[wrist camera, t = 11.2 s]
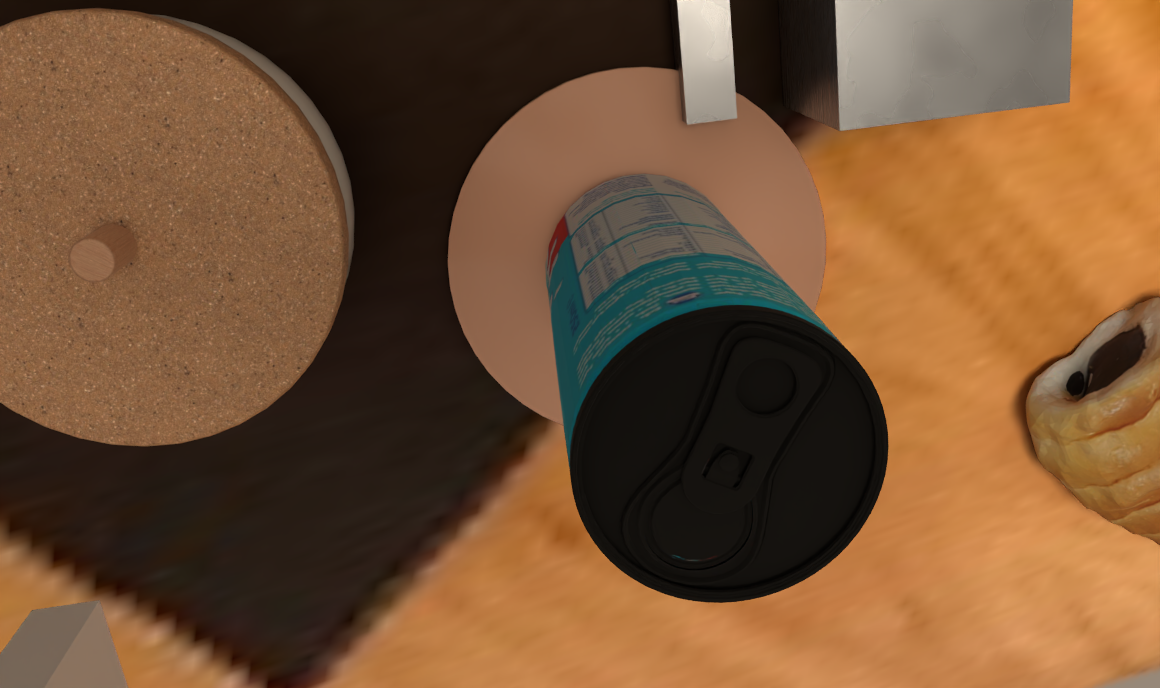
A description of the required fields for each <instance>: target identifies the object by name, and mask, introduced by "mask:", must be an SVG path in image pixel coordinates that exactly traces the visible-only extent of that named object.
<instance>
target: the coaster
mask: <svg viewBox="0 0 1160 688" xmlns="http://www.w3.org/2000/svg"><path fill="white" fill-rule="evenodd" d="M736 107H737V119H729V120H721V121H713V122H705V123H697V124H688V125H687V124H686V123H684V122H683V121H682V109H681V97H680V85H679V73H678V71H677V70H675V69H670V68H660V67H648V66H637V67H619V68H613V69H607V70H602V71H597V72H592V73H589V74H586V75H583V76H580V77H577V78H574V79H571V80H568V81H566V82H564V83H562V84H560V85H558V86H556V87H554V88H552V89H550V90H548V91H546V92H544V93H542V94H541V95H539V96H538V97H536V98H535V99H533V100H532V101H530V102H529V103H527V104H526V105H524V106H523V107H522V108H521V109H519V110H518V111H517V112H516V113H515V114H514V115H513V116H511V117H510V118H509V119H508V120H507V121H506V122H505V123H504V124H503V125H502V126H501V127H500V128H499V129H498V130H497V132H496V133H495V134H494V135H493V136H492V137H491V138H490V140H489V141H488V142H487V143H486V145H485V146H484V148H483V149H482V151H481V152H480V154H479V155H478V157H477V158H476V160H475V161H474V163H473V165H472V167H471V169H470V171H469V173H468V175H467V177H466V179H465V181H464V183H463V185H462V188H461V191H460V194H459V197H458V200H457V203H456V206H455V210H454V213H453V219H452V224H451V230H450V235H449V248H448V271H449V282H450V289H451V294H452V298H453V302H454V307H455V311H456V313H457V316H458V319H459V321H460V324H461V327H462V329H463V332H464V334H465V336H466V338H467V340H468V342H469V343H470V345H471V347H472V349H473V351H474V353H475V354H476V356H477V357H478V358H479V360H480V361H481V362H482V364H483V365H484V367H485V368H486V369H487V371H488V372H489V373H490V374H491V375H492V376H493V377H494V379H495V380H496V381H497V382H498V383H499V384H500V385H501V386H502V387H503V388H504V389H505V390H506V391H507V392H509V393H510V394H511V395H512V396H514V397H515V398H516V399H517V400H519V401H520V402H521V403H522V404H524V405H525V406H527V407H529V408H530V409H532V410H533V411H535V412H537V413H538V414H540V415H542V416H543V417H546V418H548V419H550V420H552V421H554V422H557V423H559V424H561V425H563V417H562V409H561V401H560V393H559V385H558V377H557V368H556V360H555V351H554V342H553V333H552V324H551V315H550V306H549V297H548V290H547V286H546V269H545V265H546V259H547V253H548V247H549V243H550V241H551V238H552V236H553V234H554V231H555V229H556V226H557V224H558V223H559V221H560V220H561V219H562V217H563V216H564V214H565V213H566V211H567V210H568V209H569V207H570V206H571V205H572V204H574V203H575V202H576V201H577V200H578V199H579V198H580V197H581V196H582V195H583V194H585V193H586V192H588V191H589V190H591V189H593V188H594V187H596V186H598V185H600V184H601V183H603V182H606V181H609V180H612V179H615V178H618V177H621V176H626V175H635V174H653V175H662V176H667V177H670V178H673V179H676V180H679V181H682V182H684V183H687V184H688V185H690V186H691V187H693V188H695V189H696V190H698V191H699V192H701V193H702V194H704V195H705V196H706V197H707V198H708V199H709V200H710V201H711V202H712V203H713V204H714V205H715V206H716V207H717V208H718V209H719V211H720V212H721V213H722V214H723V216H724V217H725V218H726V219H727V220H728V221H729V222H730V223H731V224H732V225H733V226H734V227H735V228H736V229H737V230H738V232H739V233H740V234H741V235H742V236H743V237H744V238H745V239H746V240H747V241H748V242H749V243H750V244H751V245H752V246H753V247H754V249H755V250H756V251H757V252H758V253H759V254H760V255H761V256H762V257H763V258H764V259H765V260H766V261H767V262H768V263H769V264H770V266H771V267H772V268H773V269H774V270H775V271H776V272H777V273H778V274H779V275H780V276H781V277H782V278H783V279H784V280H785V282H786V283H787V284H788V285H789V286H790V287H791V288H792V289H793V290H794V291H795V293H796V294H797V295H798V296H799V297H800V298H801V299H802V300H803V301H804V302H805V303H806V305H807V306H808V307H809V308H810V309H811V310H812V311H813V312H814V311H815V308H816V305H817V302H818V298H819V295H820V291H821V288H822V282H823V276H824V270H825V263H826V234H825V224H824V215H823V211H822V207H821V203H820V199H819V195H818V191H817V189H816V186H815V184H814V181H813V179H812V176H811V174H810V171H809V169H808V167H807V166H806V164H805V162H804V160H803V159H802V157H801V155H800V153H799V151H798V150H797V148H796V147H795V145H794V144H793V143H792V142H791V140H790V139H789V138H788V136H787V135H786V134H785V132H784V131H783V130H782V129H781V128H780V127H779V126H778V125H777V124H776V123H775V122H774V121H773V120H772V119H771V118H770V117H769V116H768V115H767V114H766V113H765V112H764V111H763V110H761V109H760V108H759V107H757V106H756V105H755V104H753V103H752V102H750V101H749V100H748V99H746V98H745V97H744V96H742V95H740V94H738V93H736ZM563 426H564V425H563Z"/></svg>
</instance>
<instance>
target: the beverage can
mask: <svg viewBox="0 0 1160 688" xmlns="http://www.w3.org/2000/svg"><path fill="white" fill-rule="evenodd" d="M545 269H546V286H547V290H548V297H549V306H550V315H551V324H552V333H553V342H554V351H555V360H556V368H557V377H558V385H559V393H560V401H561V409H562V417H563V425H564V433H565V439H566V446H567V453H568V460H569V467H570V476H571V483H572V490H573V495H574V499H575V503H576V506H577V509H578V512H579V515H580V517H581V520H582V522H583V524H584V526H585V528H586V530H587V531H588V533H589V535H590V536H591V538H592V540H593V541H594V542H595V544H596V545H597V546H598V548H599V549H600V550H601V552H602V553H603V554H604V555H605V556H606V557H607V558H608V559H609V560H610V561H611V562H612V563H613V564H614V565H615V566H617V567H618V568H619V569H620V570H621V571H623V572H624V573H625V574H627V575H628V576H630V577H631V578H633V579H634V580H636V581H638V582H640V583H641V584H643V585H645V586H647V587H649V588H651V589H654V590H656V591H659V592H661V593H664V594H667V595H670V596H674V597H677V598H681V599H687V600H692V601H700V602H718V603H723V602H737V601H744V600H750V599H755V598H759V597H763V596H767V595H770V594H773V593H776V592H779V591H781V590H784V589H786V588H789V587H791V586H793V585H795V584H797V583H799V582H801V581H803V580H805V579H806V578H808V577H810V576H811V575H813V574H815V573H816V572H818V571H819V570H820V569H822V568H823V567H825V566H826V565H827V564H828V563H830V562H831V561H832V560H833V559H834V558H836V557H837V556H838V555H839V554H840V553H841V552H842V551H843V550H844V549H845V548H846V547H847V546H848V545H849V543H850V542H851V541H852V540H853V539H854V537H855V536H856V535H857V534H858V532H859V531H860V530H861V528H862V526H863V525H864V523H865V522H866V520H867V518H868V517H869V515H870V514H871V511H872V509H873V507H874V505H875V503H876V501H877V499H878V496H879V493H880V491H881V488H882V484H883V481H884V477H885V473H886V467H887V460H888V431H887V424H886V418H885V414H884V410H883V406H882V404H881V401H880V398H879V395H878V393H877V391H876V389H875V387H874V385H873V383H872V381H871V379H870V378H869V376H868V374H867V373H866V371H865V370H864V369H863V367H862V366H861V365H860V363H859V362H858V361H857V360H856V358H855V357H854V356H853V355H852V354H851V353H850V352H849V351H848V350H847V349H846V348H845V347H844V346H843V345H842V344H841V343H840V341H839V340H838V339H837V338H836V337H835V336H834V335H833V333H832V332H831V331H830V330H829V329H828V328H827V327H826V326H825V324H824V323H823V322H822V321H821V320H820V319H819V318H818V317H817V316H816V314H815V313H814V312H813V311H812V310H811V309H810V308H809V307H808V306H807V305H806V303H805V302H804V301H803V300H802V299H801V298H800V297H799V296H798V295H797V294H796V293H795V291H794V290H793V289H792V288H791V287H790V286H789V285H788V284H787V283H786V282H785V280H784V279H783V278H782V277H781V276H780V275H779V274H778V273H777V272H776V271H775V270H774V269H773V268H772V267H771V266H770V264H769V263H768V262H767V261H766V260H765V259H764V258H763V257H762V256H761V255H760V254H759V253H758V252H757V251H756V250H755V249H754V247H753V246H752V245H751V244H750V243H749V242H748V241H747V240H746V239H745V238H744V237H743V236H742V235H741V234H740V233H739V232H738V230H737V229H736V228H735V227H734V226H733V225H732V224H731V223H730V222H729V221H728V220H727V219H726V218H725V217H724V216H723V214H722V213H721V212H720V211H719V209H718V208H717V207H716V206H715V205H714V204H713V203H712V202H711V201H710V200H709V199H708V198H707V197H706V196H705V195H704V194H702V193H701V192H699V191H698V190H696V189H695V188H693V187H691V186H690V185H688V184H687V183H684V182H682V181H679V180H676V179H673V178H670V177H667V176H662V175H653V174H635V175H626V176H621V177H618V178H615V179H612V180H609V181H606V182H603V183H601V184H600V185H598V186H596V187H594V188H593V189H591V190H589V191H588V192H586V193H585V194H583V195H582V196H581V197H580V198H579V199H578V200H577V201H576V202H575V203H574V204H572V205H571V206H570V207H569V209H568V210H567V211H566V213H565V214H564V216H563V217H562V219H561V220H560V221H559V223H558V224H557V226H556V229H555V231H554V234H553V236H552V238H551V241H550V243H549V247H548V253H547V259H546V265H545Z"/></svg>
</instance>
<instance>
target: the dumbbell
mask: <svg viewBox="0 0 1160 688" xmlns="http://www.w3.org/2000/svg"><path fill="white" fill-rule="evenodd" d="M670 10H671V22H672V34H673V46H674V58H675V70H677V71H678V73H679V85H680V97H681V109H682V121H683V122H684V123H686V124H687V125H688V124H697V123H705V122H713V121H721V120H729V119H737V107H736V92H735V76H734V61H733V46H732V31H731V16H730V0H670ZM778 10H779V29H780V49H781V68H782V87H783V106H785V107H787V108H790V109H792V110H794V111H796V112H799V113H801V114H803V115H805V116H808V117H810V118H812V119H814V120H816V121H819V122H821V123H823V124H825V125H828V126H830V127H832V128H834V129H837V130H839V131H844V130H852V129H860V128H868V127H876V126H884V125H892V124H900V123H908V122H916V121H924V120H932V119H940V118H948V117H956V116H964V115H972V114H980V113H988V112H996V111H1004V110H1012V109H1020V108H1028V107H1036V106H1044V105H1052V104H1060V103H1068V102H1069V101H1070V71H1071V41H1072V12H1073V0H778Z"/></svg>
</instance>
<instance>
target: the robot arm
mask: <svg viewBox="0 0 1160 688" xmlns="http://www.w3.org/2000/svg"><path fill="white" fill-rule="evenodd" d="M0 688H128V686H127V683H126V680H125V677H124V674H123V671H122V668H121V665H120V662H119V658H118V655H117V652H116V649H115V646H114V643H113V640H112V637H111V634H110V631H109V628H108V625H107V622H106V619H105V616H104V613H103V610H102V607H101V604H100V601H99V600H98V601H91V602H85V603H78V604H71V605H64V606H57V607H51V608H44V609H37V610H32V611H31V612H30V614H29V615H28V617H27V618H26V619H25V621H24V622H23V623H22V625H21V626H20V628H19V629H18V630H17V632H16V633H15V634H14V636H13V637H12V639H11V640H10V641H9V643H8V644H7V645H6V647H5V648H4V650H3V651H2V652H1V654H0Z"/></svg>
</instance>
